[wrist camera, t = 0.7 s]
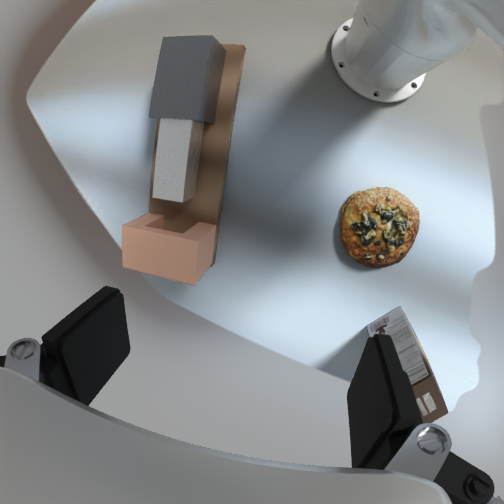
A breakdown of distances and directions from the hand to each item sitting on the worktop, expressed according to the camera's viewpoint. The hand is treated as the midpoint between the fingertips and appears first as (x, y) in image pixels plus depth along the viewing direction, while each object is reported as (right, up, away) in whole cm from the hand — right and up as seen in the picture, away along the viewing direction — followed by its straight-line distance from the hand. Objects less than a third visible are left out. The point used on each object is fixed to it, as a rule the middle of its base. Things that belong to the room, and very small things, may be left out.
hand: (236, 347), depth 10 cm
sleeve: (-6, +24, +23) cm, 34 cm away
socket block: (-9, +5, +30) cm, 32 cm away
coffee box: (+23, -9, +31) cm, 40 cm away
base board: (-7, +17, +27) cm, 33 cm away
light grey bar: (-7, +19, +24) cm, 31 cm away
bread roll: (+17, +7, +27) cm, 33 cm away
